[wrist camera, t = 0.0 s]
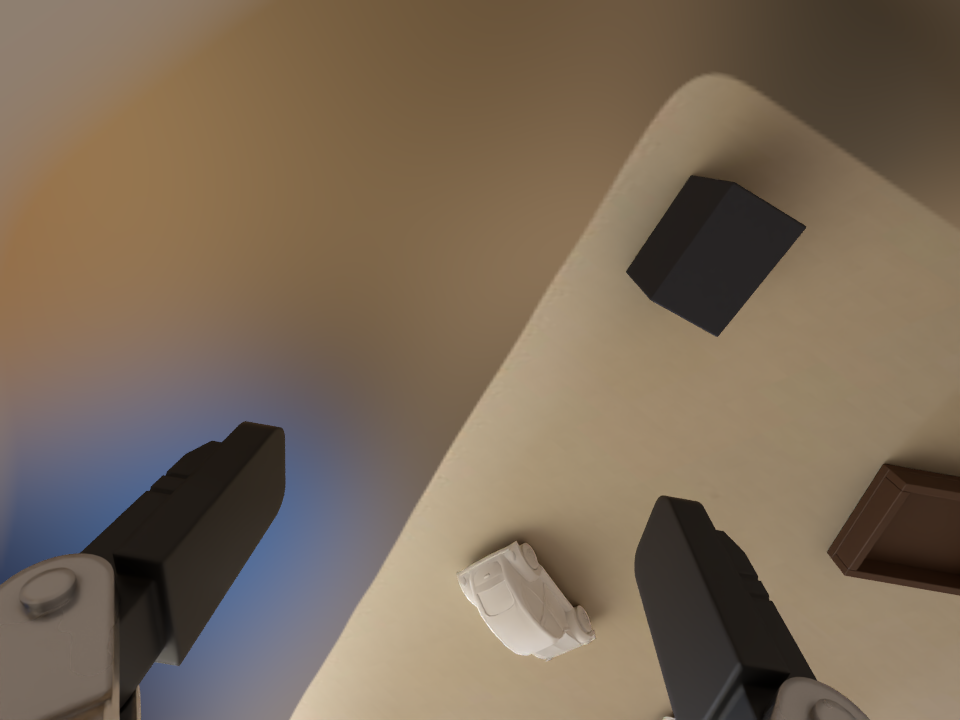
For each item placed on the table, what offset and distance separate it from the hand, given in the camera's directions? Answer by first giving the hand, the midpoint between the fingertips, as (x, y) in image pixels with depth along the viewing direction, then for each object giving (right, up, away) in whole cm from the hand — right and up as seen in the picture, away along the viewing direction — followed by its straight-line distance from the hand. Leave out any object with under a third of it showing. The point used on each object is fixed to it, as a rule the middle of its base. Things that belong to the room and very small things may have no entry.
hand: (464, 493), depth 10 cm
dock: (+32, -9, +23) cm, 40 cm away
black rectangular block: (+12, +9, +17) cm, 23 cm away
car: (+4, -16, +29) cm, 33 cm away
